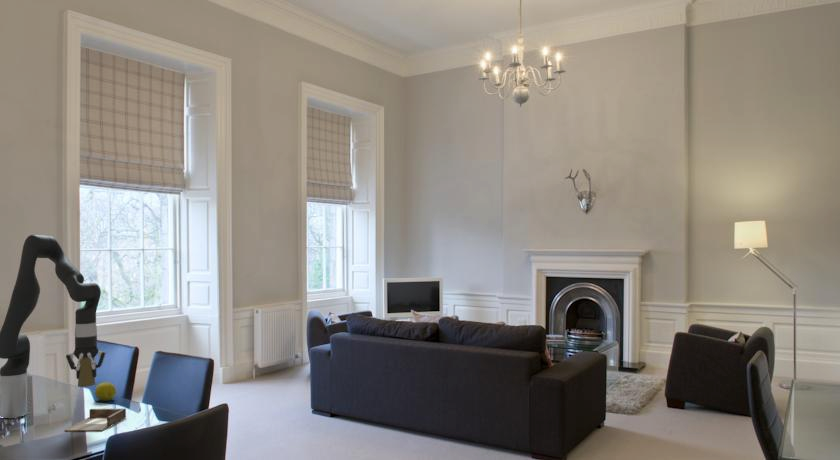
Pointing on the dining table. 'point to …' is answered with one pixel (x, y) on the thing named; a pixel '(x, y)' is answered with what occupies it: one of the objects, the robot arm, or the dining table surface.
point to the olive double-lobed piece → (85, 373)
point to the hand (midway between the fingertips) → (86, 379)
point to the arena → (98, 420)
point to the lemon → (105, 391)
